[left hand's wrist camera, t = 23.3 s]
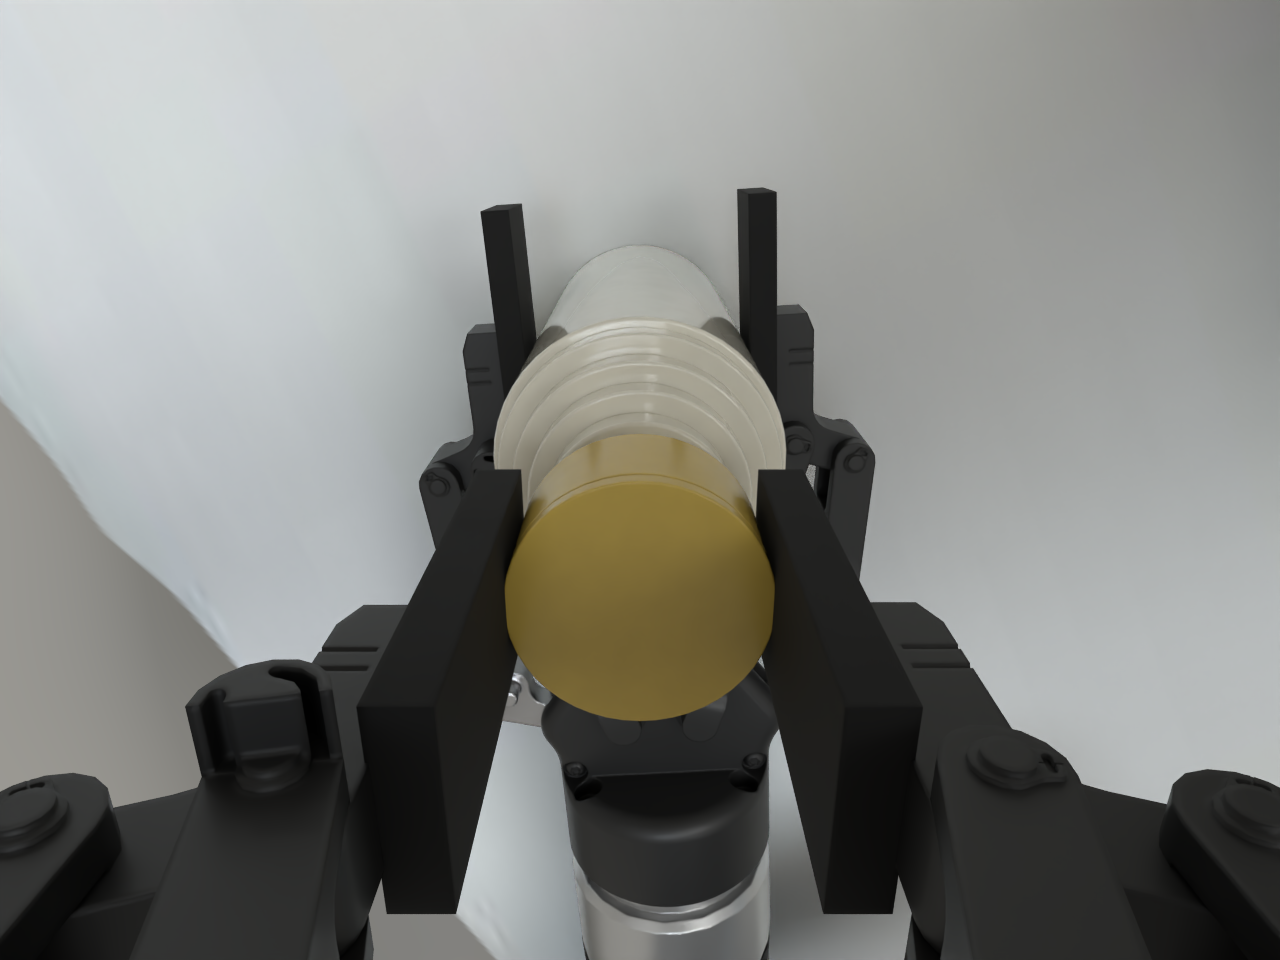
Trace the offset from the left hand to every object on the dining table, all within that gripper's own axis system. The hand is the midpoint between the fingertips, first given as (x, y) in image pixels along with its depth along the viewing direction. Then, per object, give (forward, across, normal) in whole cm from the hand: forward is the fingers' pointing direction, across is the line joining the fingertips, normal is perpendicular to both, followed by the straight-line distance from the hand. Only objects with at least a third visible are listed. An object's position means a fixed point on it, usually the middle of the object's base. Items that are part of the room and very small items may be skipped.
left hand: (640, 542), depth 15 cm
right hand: (+12, 0, -5) cm, 13 cm away
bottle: (+18, 0, 0) cm, 18 cm away
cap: (-2, 0, 0) cm, 2 cm away
